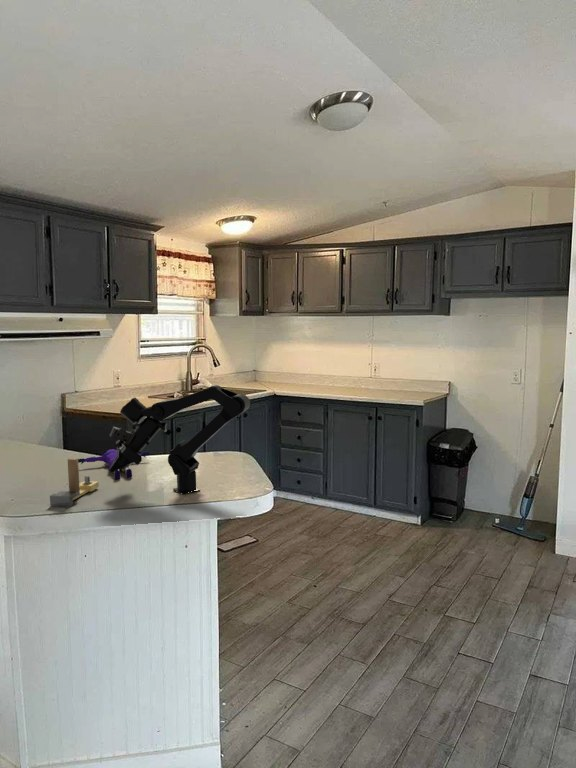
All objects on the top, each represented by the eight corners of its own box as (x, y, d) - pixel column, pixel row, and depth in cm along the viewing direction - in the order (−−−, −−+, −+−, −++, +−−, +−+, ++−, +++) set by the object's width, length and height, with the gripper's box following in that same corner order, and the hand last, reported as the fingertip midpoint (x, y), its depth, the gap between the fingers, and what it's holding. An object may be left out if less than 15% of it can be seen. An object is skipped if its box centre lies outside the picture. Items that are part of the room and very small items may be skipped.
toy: (162, 476, 199) (146, 457, 226) (162, 461, 198) (145, 444, 225) (81, 486, 187) (74, 465, 214) (81, 470, 187) (73, 451, 214)
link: (84, 486, 182) (82, 451, 181) (98, 487, 182) (97, 451, 180) (57, 501, 167) (55, 463, 165) (72, 502, 166) (70, 463, 165)
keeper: (61, 499, 170) (61, 489, 170) (80, 500, 169) (79, 490, 169) (50, 506, 164) (49, 495, 163) (69, 507, 163) (68, 496, 163)
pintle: (97, 490, 179) (96, 476, 179) (83, 493, 177) (83, 479, 176) (91, 487, 183) (90, 474, 182) (78, 490, 180) (77, 476, 179)
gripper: (121, 413, 184) (87, 450, 180) (128, 421, 166) (91, 462, 163) (146, 434, 187) (114, 471, 184) (156, 444, 170) (121, 484, 167)
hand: (110, 471), depth 175 cm, fingers closed
